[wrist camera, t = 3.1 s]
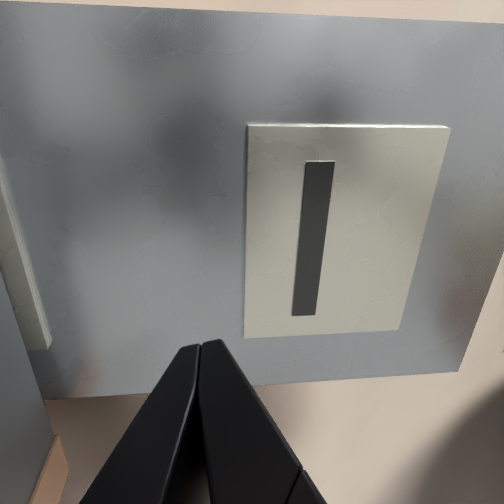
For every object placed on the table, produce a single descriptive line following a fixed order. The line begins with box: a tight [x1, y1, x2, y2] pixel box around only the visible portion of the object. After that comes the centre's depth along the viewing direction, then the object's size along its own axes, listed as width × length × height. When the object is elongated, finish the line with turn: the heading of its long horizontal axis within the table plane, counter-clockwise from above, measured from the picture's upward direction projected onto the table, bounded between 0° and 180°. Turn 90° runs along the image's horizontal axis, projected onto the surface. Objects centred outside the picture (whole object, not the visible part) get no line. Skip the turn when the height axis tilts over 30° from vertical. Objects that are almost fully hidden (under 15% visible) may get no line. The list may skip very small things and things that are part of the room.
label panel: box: [0, 1, 504, 400], centre depth 12 cm, size 12×24×2 cm, turn 88°
